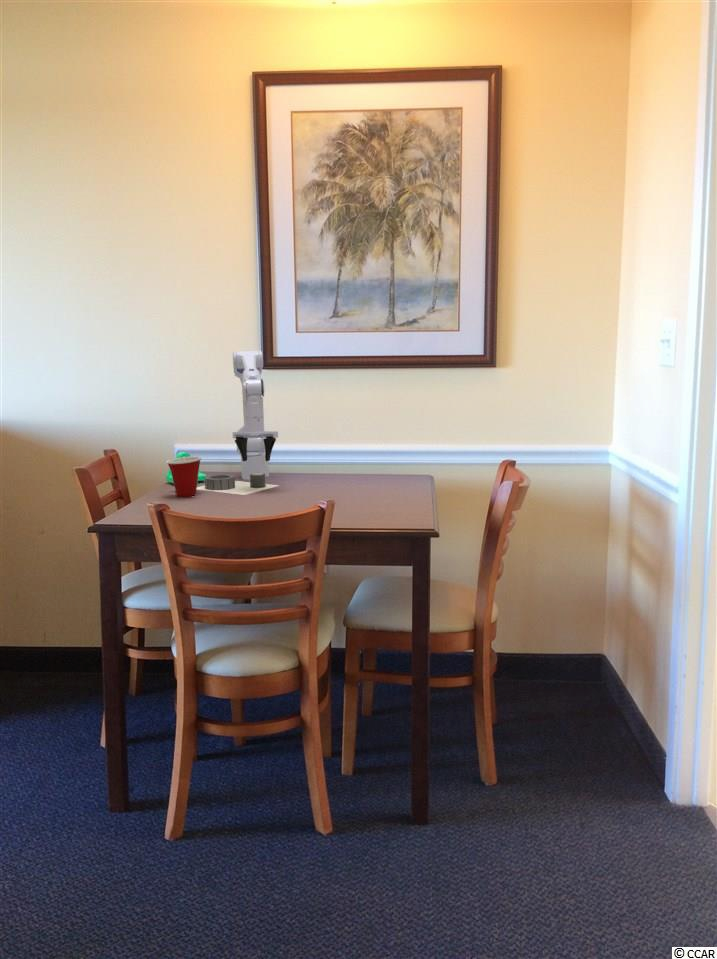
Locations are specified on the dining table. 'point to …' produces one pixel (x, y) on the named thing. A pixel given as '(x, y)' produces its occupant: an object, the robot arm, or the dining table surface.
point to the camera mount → (180, 455)
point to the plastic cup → (185, 475)
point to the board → (229, 485)
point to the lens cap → (257, 480)
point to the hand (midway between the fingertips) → (256, 460)
